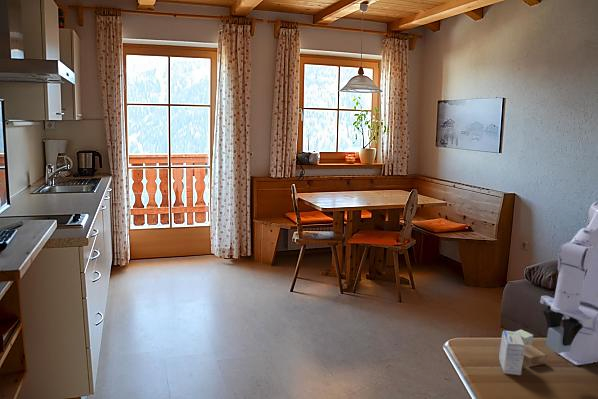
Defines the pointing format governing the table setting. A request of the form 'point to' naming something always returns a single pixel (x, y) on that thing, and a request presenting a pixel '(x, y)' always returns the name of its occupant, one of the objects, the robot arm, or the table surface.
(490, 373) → the table surface
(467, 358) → the table surface
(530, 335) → the sage cube
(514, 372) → the medicine box
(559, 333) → the slate block
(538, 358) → the tan square block
